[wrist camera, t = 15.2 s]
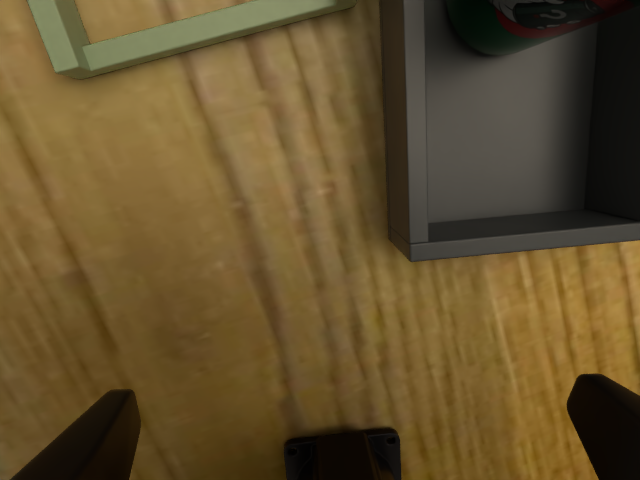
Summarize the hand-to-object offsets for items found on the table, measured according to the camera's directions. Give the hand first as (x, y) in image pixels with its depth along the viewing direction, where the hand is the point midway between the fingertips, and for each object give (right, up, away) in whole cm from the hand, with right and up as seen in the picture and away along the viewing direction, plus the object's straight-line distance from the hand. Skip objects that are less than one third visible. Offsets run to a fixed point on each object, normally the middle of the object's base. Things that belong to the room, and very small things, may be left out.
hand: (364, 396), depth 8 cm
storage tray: (+7, +11, +11) cm, 17 cm away
